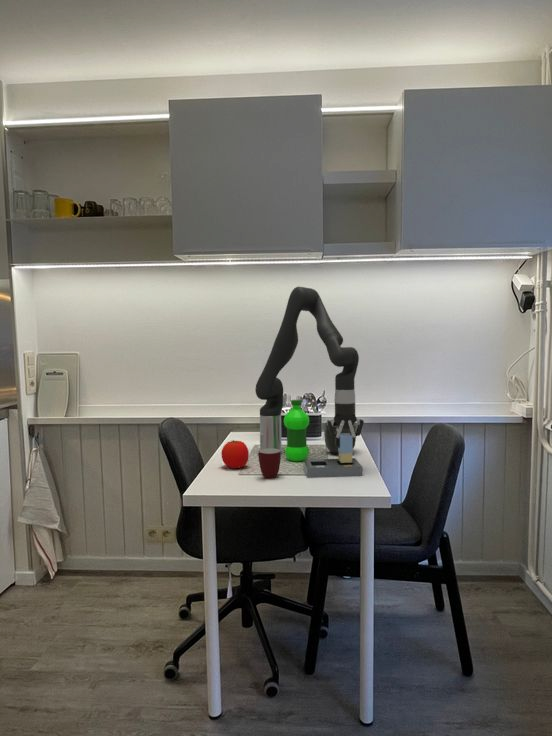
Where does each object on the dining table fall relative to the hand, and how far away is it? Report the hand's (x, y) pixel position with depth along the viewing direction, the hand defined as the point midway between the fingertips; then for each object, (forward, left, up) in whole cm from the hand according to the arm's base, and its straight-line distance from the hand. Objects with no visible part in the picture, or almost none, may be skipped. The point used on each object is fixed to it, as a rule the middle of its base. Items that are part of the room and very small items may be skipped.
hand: (345, 447), depth 184 cm
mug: (-28, -2, -10) cm, 30 cm away
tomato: (-41, +13, -10) cm, 44 cm away
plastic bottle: (-16, +20, -10) cm, 28 cm away
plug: (0, 0, -5) cm, 5 cm away
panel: (-5, 0, -10) cm, 11 cm away
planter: (+4, +31, -10) cm, 33 cm away
